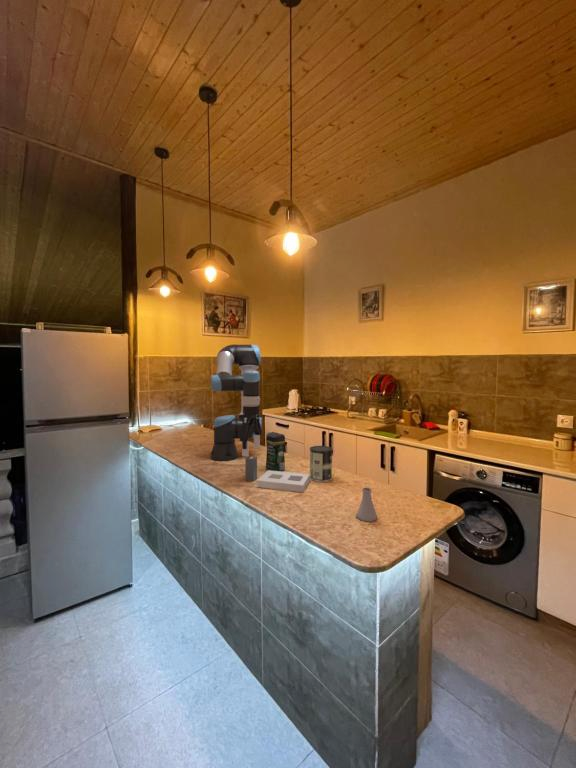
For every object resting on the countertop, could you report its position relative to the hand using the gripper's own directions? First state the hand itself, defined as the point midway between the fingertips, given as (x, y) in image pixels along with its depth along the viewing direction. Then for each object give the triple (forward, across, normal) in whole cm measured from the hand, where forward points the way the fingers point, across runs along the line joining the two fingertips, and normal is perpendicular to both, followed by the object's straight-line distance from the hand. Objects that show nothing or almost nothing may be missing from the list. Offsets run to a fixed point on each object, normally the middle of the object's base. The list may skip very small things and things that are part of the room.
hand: (251, 452), depth 148 cm
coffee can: (+13, +12, -30) cm, 34 cm away
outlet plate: (+13, 0, -16) cm, 20 cm away
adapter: (+13, 0, 0) cm, 13 cm away
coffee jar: (+13, +18, -6) cm, 22 cm away
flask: (+14, -22, -52) cm, 58 cm away
